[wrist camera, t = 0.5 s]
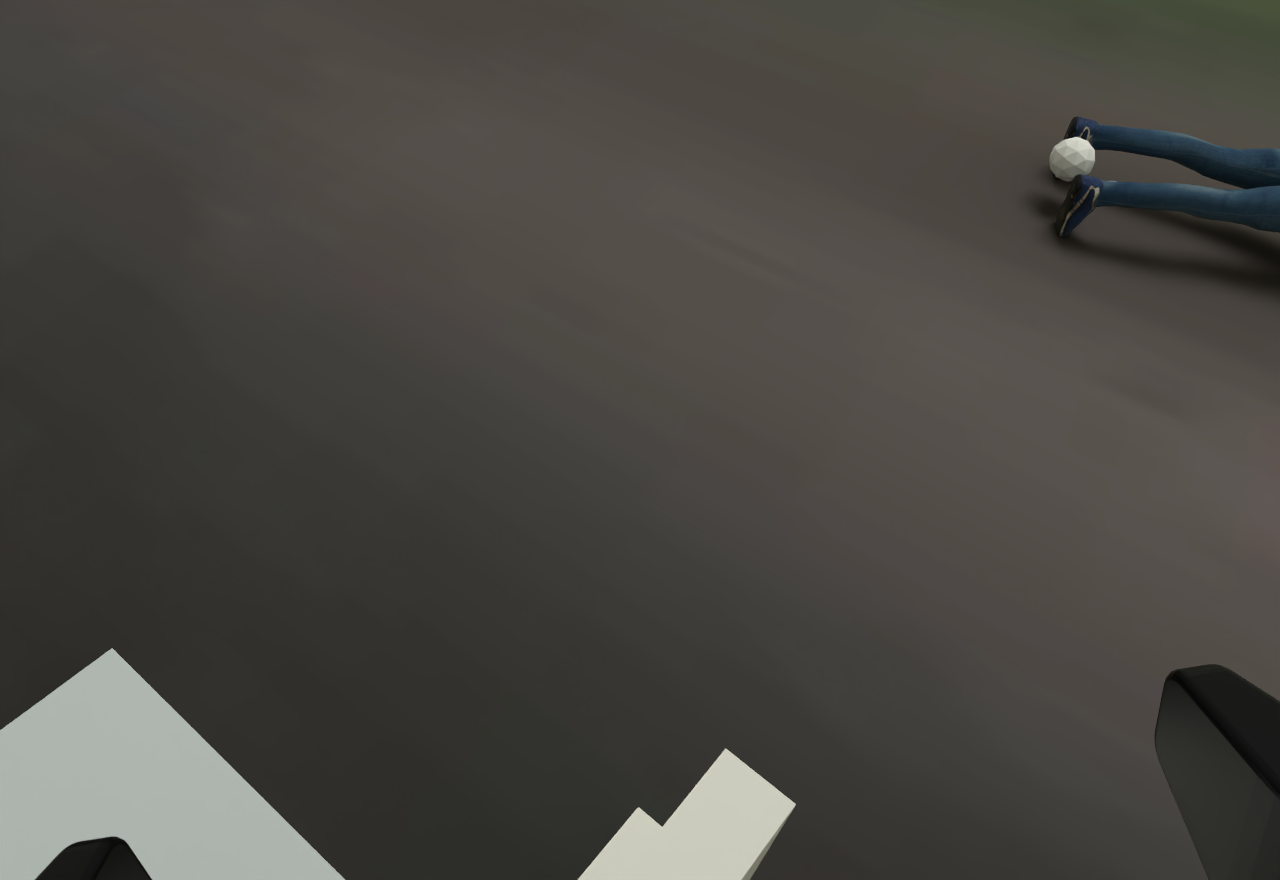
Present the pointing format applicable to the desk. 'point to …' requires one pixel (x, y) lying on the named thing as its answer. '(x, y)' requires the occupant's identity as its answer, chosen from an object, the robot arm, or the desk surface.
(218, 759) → the pad
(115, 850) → the robot arm
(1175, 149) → the person figurine
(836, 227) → the desk surface
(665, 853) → the off-white ledge rack
